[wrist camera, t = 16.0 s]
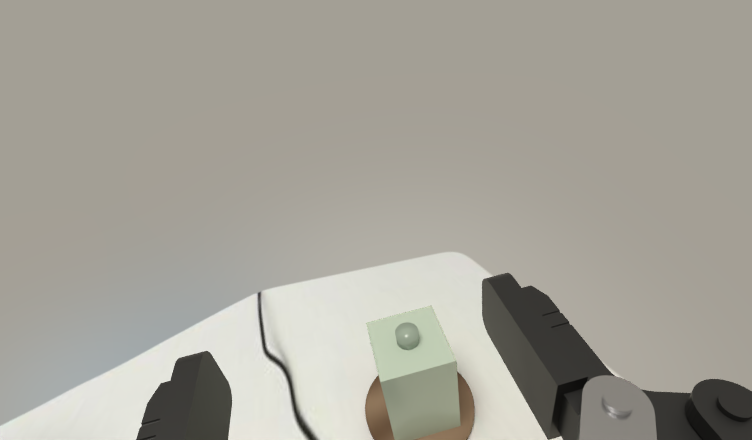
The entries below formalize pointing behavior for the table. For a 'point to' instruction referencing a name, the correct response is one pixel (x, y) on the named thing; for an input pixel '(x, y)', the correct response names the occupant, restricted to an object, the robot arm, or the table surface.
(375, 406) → the coaster
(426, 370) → the green cover
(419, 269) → the table surface
